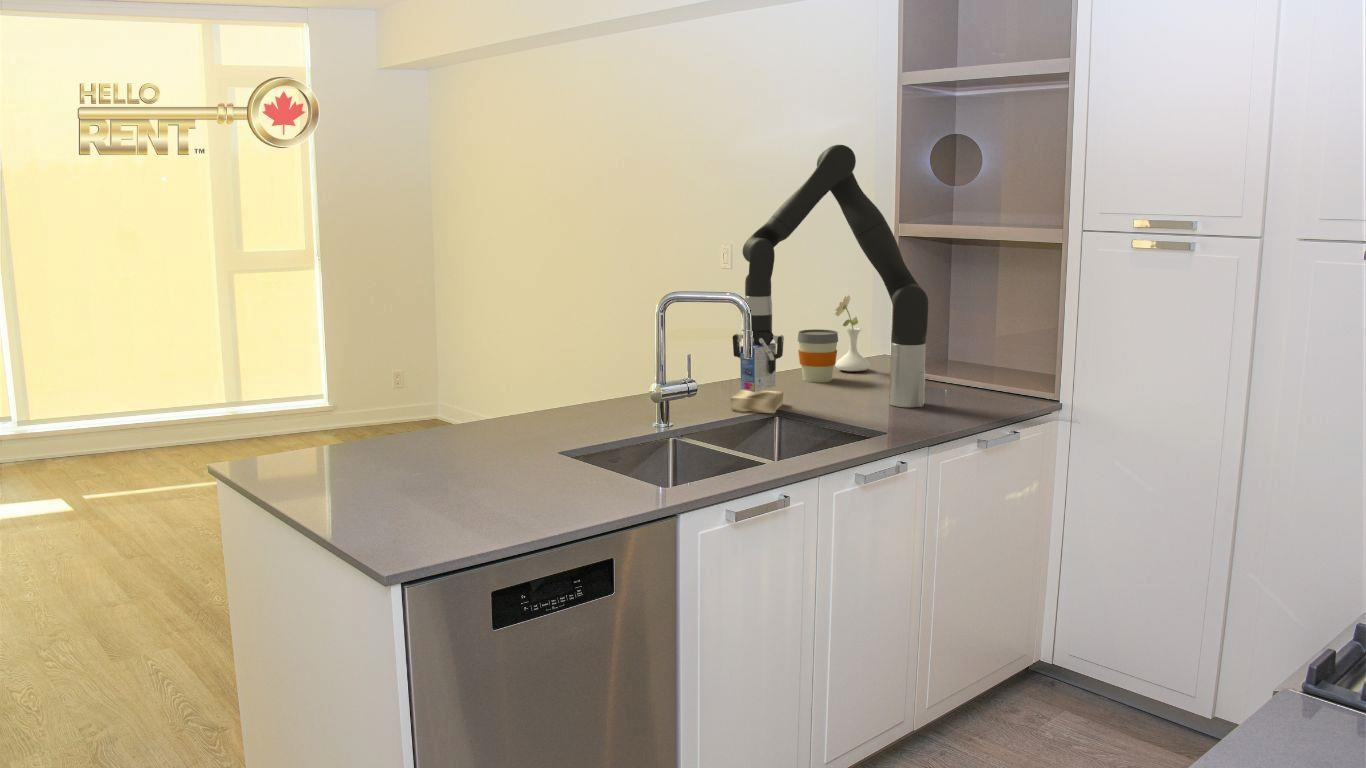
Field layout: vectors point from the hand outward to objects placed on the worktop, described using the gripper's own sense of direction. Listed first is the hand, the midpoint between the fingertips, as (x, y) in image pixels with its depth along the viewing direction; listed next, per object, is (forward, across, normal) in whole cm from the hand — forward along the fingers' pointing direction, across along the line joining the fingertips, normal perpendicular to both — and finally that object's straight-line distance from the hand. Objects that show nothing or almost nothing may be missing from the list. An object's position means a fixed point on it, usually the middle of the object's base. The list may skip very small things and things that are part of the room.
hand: (758, 372), depth 287 cm
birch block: (+10, 0, 0) cm, 10 cm away
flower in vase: (+10, -17, -63) cm, 66 cm away
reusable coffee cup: (+10, -9, -45) cm, 47 cm away
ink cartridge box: (+5, 0, 0) cm, 5 cm away
